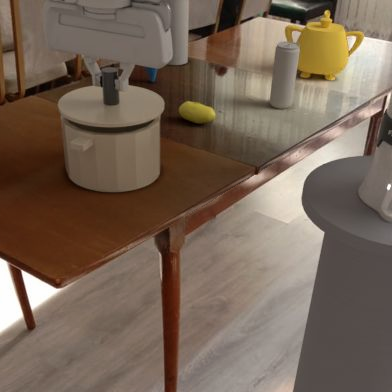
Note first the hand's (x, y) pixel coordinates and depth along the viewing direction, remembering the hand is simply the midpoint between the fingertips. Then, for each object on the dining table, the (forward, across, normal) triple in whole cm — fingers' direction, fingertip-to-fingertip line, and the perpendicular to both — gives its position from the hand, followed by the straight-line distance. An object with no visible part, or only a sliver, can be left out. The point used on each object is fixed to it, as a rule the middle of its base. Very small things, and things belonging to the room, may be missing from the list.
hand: (110, 88), depth 98 cm
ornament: (+14, +14, -42) cm, 46 cm away
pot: (+14, 0, 0) cm, 14 cm away
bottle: (+14, +16, -58) cm, 62 cm away
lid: (+3, 0, 0) cm, 3 cm away
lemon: (+14, -4, -26) cm, 30 cm away
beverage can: (+14, -16, -43) cm, 48 cm away
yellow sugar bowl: (+14, -17, -69) cm, 72 cm away
